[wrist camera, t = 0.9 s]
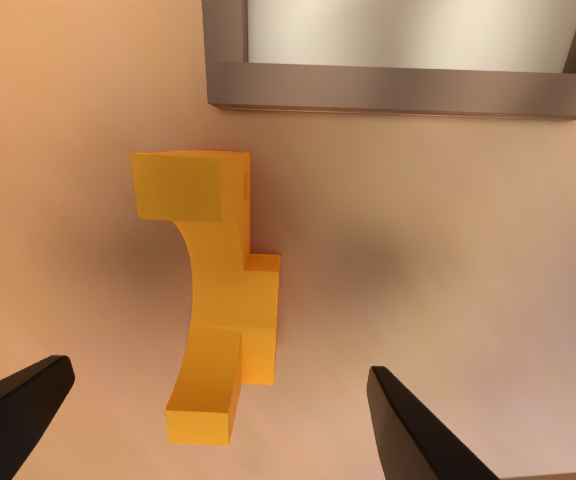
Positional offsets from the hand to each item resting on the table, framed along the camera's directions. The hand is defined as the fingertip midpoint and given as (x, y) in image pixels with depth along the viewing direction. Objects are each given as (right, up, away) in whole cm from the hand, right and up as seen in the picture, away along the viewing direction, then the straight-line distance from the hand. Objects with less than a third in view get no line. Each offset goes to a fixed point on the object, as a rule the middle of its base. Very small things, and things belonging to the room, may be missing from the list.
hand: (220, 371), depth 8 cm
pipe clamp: (-1, +3, +8) cm, 9 cm away
